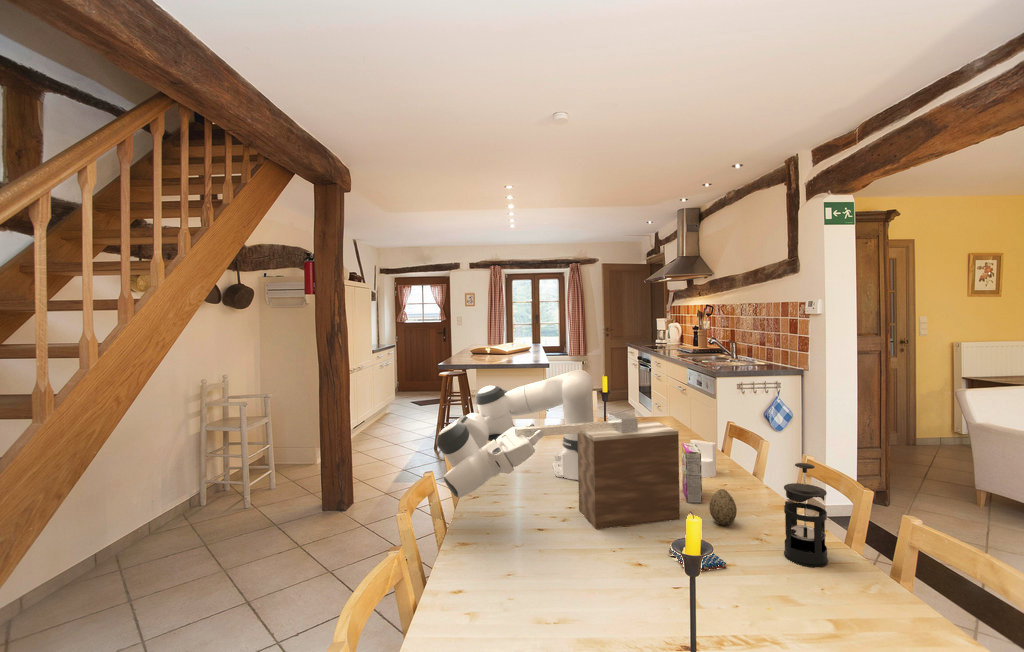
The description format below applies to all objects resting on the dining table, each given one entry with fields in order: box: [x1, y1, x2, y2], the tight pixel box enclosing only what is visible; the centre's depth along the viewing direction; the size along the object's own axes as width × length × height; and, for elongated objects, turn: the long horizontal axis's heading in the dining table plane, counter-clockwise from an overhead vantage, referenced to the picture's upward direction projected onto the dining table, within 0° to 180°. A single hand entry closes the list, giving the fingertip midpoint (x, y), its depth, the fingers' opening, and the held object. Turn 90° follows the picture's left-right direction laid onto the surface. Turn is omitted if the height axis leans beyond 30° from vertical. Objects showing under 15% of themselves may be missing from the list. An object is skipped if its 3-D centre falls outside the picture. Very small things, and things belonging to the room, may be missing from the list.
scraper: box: [515, 411, 638, 438], centre depth 147 cm, size 10×35×4 cm, turn 102°
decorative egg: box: [709, 488, 738, 526], centre depth 143 cm, size 7×7×10 cm
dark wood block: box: [577, 420, 681, 530], centre depth 151 cm, size 14×26×26 cm, turn 102°
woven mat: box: [668, 548, 728, 572], centre depth 122 cm, size 10×11×2 cm
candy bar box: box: [680, 442, 703, 504], centre depth 164 cm, size 11×5×16 cm, turn 168°
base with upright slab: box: [689, 439, 717, 479], centre depth 187 cm, size 9×9×12 cm
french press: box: [783, 462, 829, 569], centre depth 123 cm, size 12×9×23 cm
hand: (538, 428), depth 145 cm, fingers open, 8 cm apart
